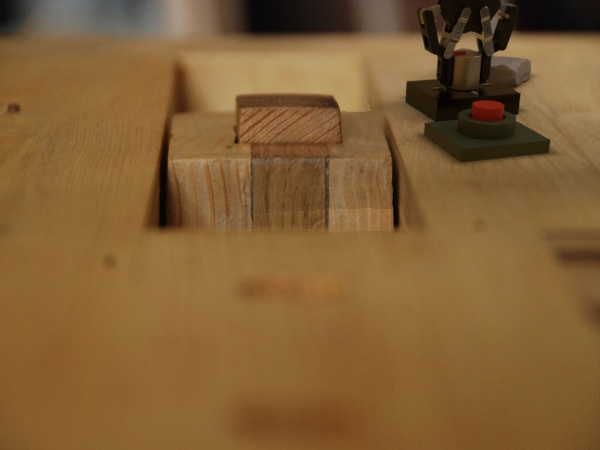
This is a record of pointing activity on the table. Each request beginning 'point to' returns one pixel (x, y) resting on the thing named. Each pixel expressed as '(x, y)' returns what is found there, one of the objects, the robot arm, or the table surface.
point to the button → (487, 110)
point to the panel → (457, 98)
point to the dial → (465, 70)
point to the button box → (485, 137)
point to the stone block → (508, 69)
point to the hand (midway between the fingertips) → (462, 83)
